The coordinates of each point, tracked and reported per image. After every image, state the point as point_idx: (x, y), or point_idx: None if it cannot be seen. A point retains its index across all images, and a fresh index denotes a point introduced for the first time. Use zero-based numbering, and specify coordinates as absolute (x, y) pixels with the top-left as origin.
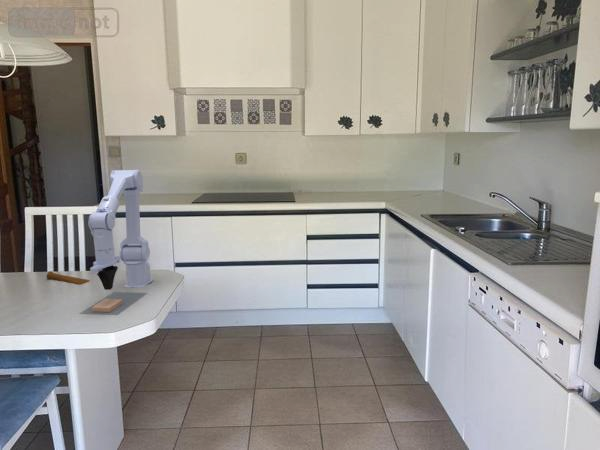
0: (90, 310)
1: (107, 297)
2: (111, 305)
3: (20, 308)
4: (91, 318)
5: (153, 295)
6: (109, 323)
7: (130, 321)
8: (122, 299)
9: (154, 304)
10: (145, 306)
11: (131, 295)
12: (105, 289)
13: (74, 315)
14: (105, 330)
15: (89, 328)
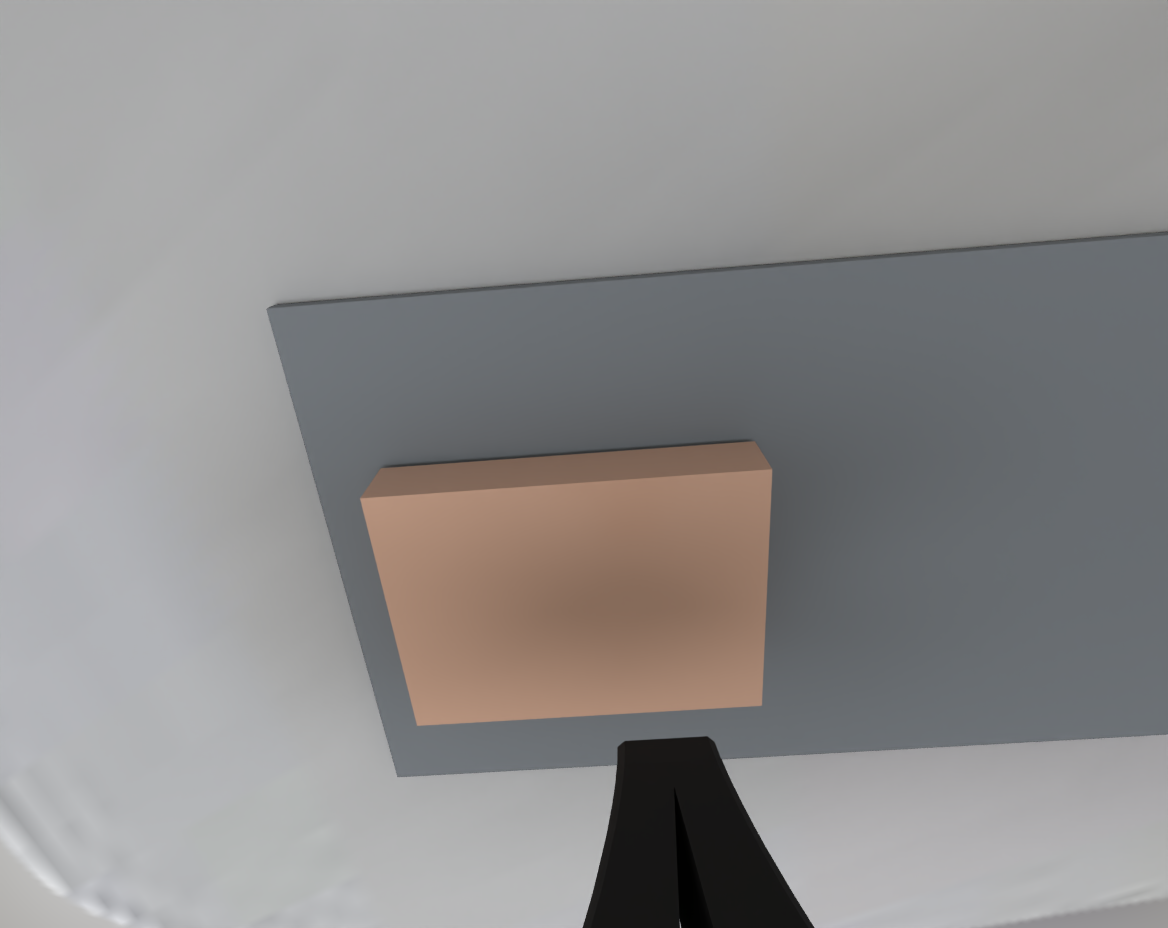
0: (432, 396)
1: (1048, 290)
2: (505, 704)
3: None
4: (242, 549)
5: (1087, 792)
6: (213, 786)
7: (329, 904)
8: (922, 573)
9: None
10: None
11: (1095, 599)
12: (619, 763)
13: (231, 239)
14: (69, 832)
15: (18, 691)
